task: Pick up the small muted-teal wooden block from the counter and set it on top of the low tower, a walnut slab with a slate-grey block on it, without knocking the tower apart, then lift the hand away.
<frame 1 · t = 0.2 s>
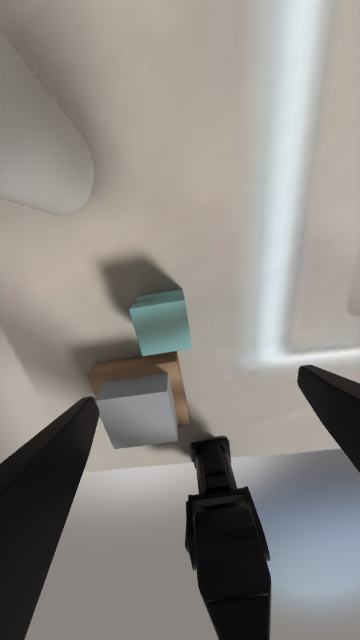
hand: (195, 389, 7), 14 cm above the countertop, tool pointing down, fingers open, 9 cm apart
can: (56, 169, 16), on the countertop
walnut slab: (146, 385, 25), on the countertop, touching grey block
teal block: (164, 312, 21), on the countertop
grey block: (143, 401, 23), point 2 cm above the countertop, touching walnut slab
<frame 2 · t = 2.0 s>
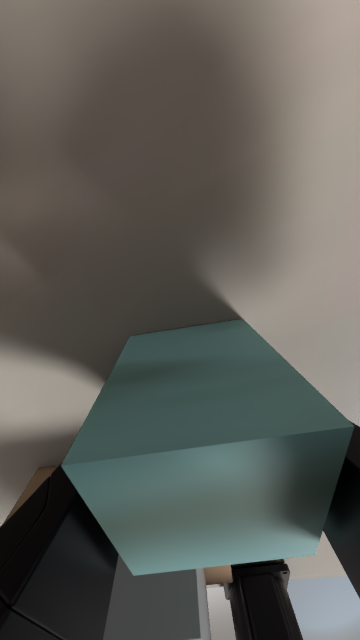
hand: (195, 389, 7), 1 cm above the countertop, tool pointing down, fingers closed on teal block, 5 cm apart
walnut slab: (145, 493, 13), on the countertop, touching grey block
teal block: (193, 373, 8), on the countertop, touching gripper
grey block: (133, 557, 10), point 2 cm above the countertop, touching walnut slab
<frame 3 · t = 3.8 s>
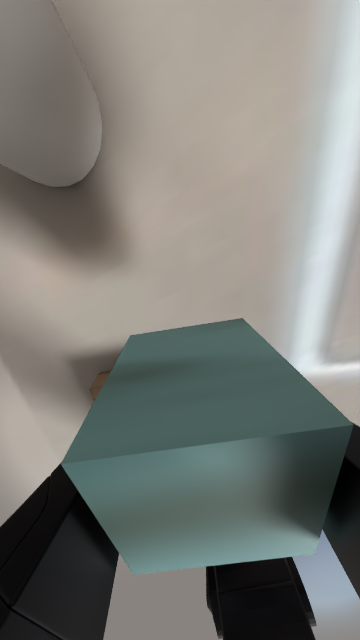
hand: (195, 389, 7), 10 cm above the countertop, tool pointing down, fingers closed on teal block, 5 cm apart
can: (53, 128, 12), on the countertop
teal block: (192, 372, 8), point 9 cm above the countertop, touching gripper
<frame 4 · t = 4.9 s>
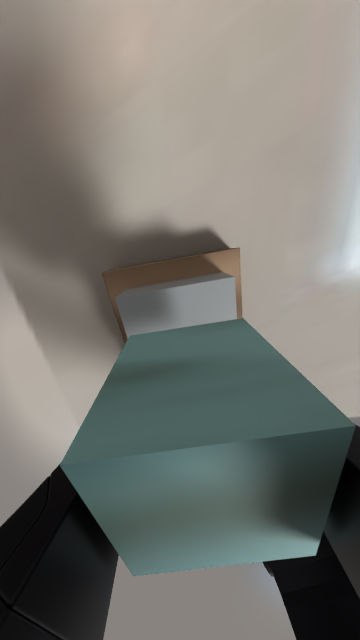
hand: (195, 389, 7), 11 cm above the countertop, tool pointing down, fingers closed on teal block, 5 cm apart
walnut slab: (180, 313, 18), on the countertop, touching grey block
teal block: (193, 373, 8), point 10 cm above the countertop, touching gripper
grey block: (182, 324, 16), point 2 cm above the countertop, touching walnut slab
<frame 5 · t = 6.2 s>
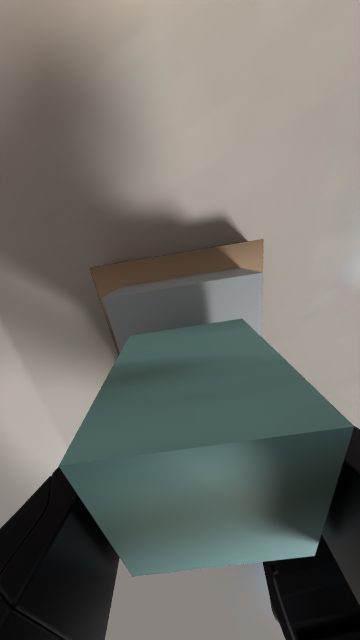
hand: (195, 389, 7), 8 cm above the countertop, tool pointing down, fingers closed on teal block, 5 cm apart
walnut slab: (184, 318, 16), on the countertop
teal block: (192, 373, 8), point 7 cm above the countertop, touching gripper
grey block: (188, 332, 13), point 2 cm above the countertop
when the fingers open (8 cm above the countertop, at t = 6.4 s): teal block drops 2 cm, resting on grey block.
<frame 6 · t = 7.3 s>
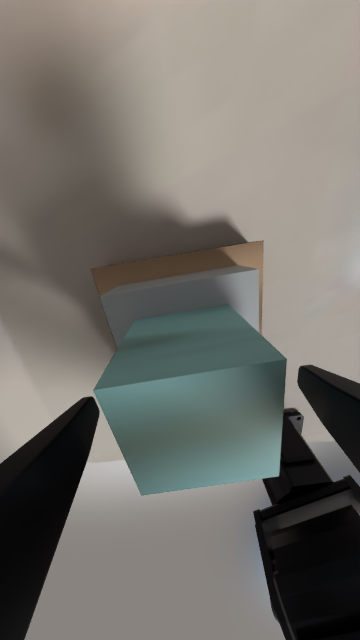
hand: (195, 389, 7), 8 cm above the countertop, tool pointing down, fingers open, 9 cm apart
walnut slab: (185, 318, 16), on the countertop, touching grey block
teal block: (188, 352, 10), point 5 cm above the countertop, touching grey block
grey block: (186, 330, 13), point 2 cm above the countertop, touching teal block, walnut slab
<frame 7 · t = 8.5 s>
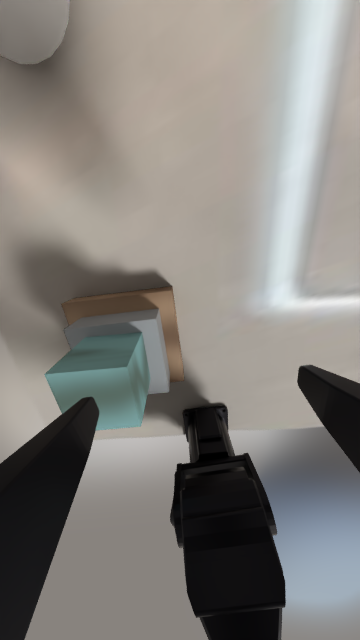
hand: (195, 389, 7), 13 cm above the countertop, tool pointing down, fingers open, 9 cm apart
can: (22, 1, 12), on the countertop
walnut slab: (134, 334, 22), on the countertop, touching grey block
teal block: (119, 359, 16), point 5 cm above the countertop, touching grey block
grey block: (128, 347, 19), point 2 cm above the countertop, touching teal block, walnut slab
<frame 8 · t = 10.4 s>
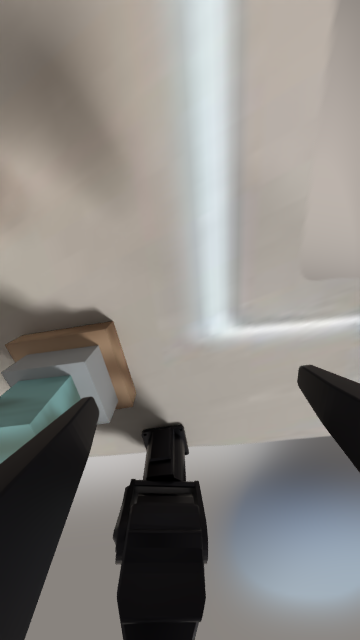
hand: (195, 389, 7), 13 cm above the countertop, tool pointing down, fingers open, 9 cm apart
walnut slab: (86, 363, 23), on the countertop, touching grey block
teal block: (54, 398, 17), point 5 cm above the countertop
grey block: (75, 379, 20), point 2 cm above the countertop, touching walnut slab
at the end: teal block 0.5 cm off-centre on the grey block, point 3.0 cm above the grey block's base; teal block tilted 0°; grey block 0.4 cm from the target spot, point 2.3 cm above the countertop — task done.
